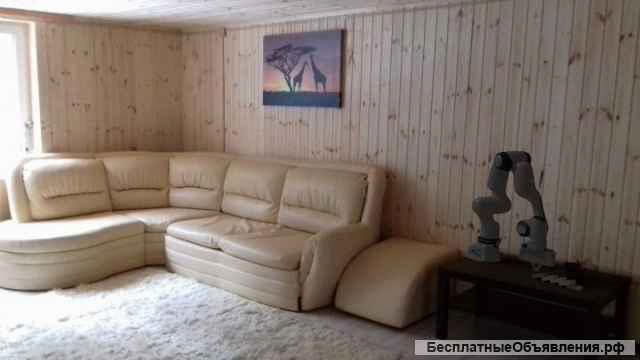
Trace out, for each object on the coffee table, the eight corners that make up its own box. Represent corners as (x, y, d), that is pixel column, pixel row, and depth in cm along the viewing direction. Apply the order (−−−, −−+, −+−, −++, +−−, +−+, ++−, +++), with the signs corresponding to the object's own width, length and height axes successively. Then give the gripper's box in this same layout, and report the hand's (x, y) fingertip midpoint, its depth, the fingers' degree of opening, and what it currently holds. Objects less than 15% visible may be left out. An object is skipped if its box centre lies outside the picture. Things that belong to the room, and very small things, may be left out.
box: (569, 277, 318) (570, 264, 317) (563, 274, 323) (564, 261, 322) (579, 277, 319) (580, 264, 318) (572, 274, 325) (573, 261, 324)
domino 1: (531, 275, 315) (543, 273, 310) (536, 273, 318) (547, 272, 313) (532, 278, 315) (544, 277, 310) (536, 277, 318) (548, 275, 312)
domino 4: (558, 282, 303) (569, 281, 297) (564, 280, 305) (575, 279, 299) (559, 285, 303) (570, 284, 297) (564, 284, 305) (576, 283, 299)
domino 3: (549, 279, 307) (561, 278, 302) (554, 278, 310) (566, 276, 305) (550, 283, 307) (562, 281, 302) (555, 281, 310) (567, 280, 304)
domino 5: (565, 284, 300) (578, 288, 295) (570, 283, 303) (583, 286, 298) (565, 288, 301) (578, 291, 295) (569, 286, 303) (582, 290, 298)
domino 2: (541, 277, 311) (553, 275, 306) (545, 276, 314) (557, 274, 308) (542, 280, 311) (554, 279, 305) (546, 279, 313) (558, 277, 308)
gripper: (559, 249, 308) (557, 274, 310) (524, 241, 323) (522, 265, 325) (553, 250, 304) (551, 276, 306) (517, 243, 319) (516, 267, 321)
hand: (536, 270), depth 315 cm, fingers closed
